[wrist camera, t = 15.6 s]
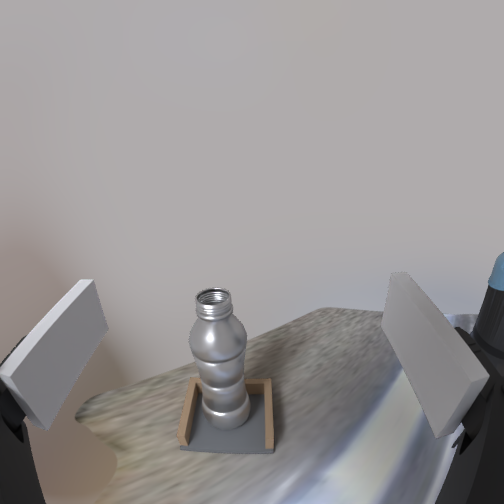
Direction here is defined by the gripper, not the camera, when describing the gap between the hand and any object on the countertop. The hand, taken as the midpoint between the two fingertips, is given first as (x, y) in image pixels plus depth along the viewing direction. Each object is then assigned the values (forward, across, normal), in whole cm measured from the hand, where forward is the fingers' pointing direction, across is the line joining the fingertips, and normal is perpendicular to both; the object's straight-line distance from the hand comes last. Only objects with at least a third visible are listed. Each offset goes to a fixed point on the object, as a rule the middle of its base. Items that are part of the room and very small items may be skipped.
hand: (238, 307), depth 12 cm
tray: (+15, -4, -29) cm, 33 cm away
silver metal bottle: (+15, -4, -29) cm, 33 cm away
